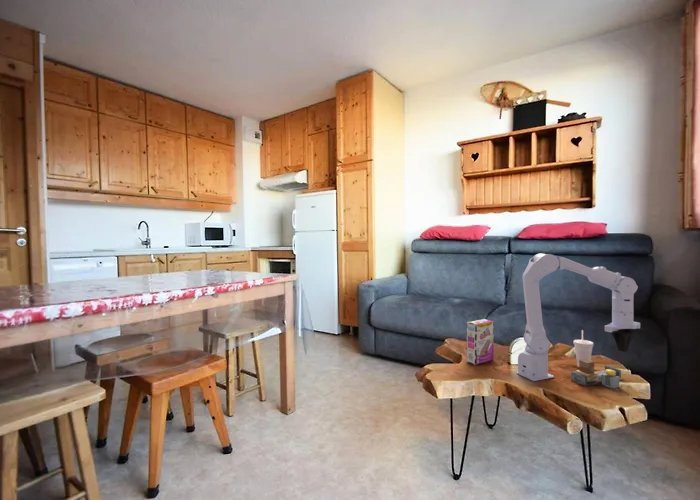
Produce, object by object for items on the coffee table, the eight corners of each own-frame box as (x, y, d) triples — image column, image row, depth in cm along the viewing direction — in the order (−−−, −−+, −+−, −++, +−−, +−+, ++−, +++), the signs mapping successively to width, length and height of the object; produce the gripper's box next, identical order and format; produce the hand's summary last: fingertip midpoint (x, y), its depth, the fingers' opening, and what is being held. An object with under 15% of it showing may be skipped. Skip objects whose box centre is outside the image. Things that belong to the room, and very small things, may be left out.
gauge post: (612, 388, 110) (612, 378, 110) (602, 384, 114) (601, 374, 114) (619, 387, 111) (619, 377, 111) (608, 383, 115) (608, 373, 114)
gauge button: (611, 386, 111) (611, 372, 111) (603, 383, 113) (603, 369, 113) (617, 385, 112) (617, 371, 111) (609, 382, 114) (609, 368, 114)
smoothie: (587, 364, 133) (587, 328, 132) (597, 370, 126) (597, 332, 126) (569, 363, 133) (569, 328, 133) (579, 369, 127) (579, 332, 126)
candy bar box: (476, 366, 133) (476, 324, 132) (466, 362, 137) (465, 322, 137) (494, 360, 138) (494, 320, 138) (484, 357, 143) (483, 318, 142)
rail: (585, 385, 113) (585, 377, 113) (571, 380, 118) (571, 371, 118) (621, 378, 118) (621, 370, 118) (606, 373, 123) (606, 365, 123)
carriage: (587, 382, 114) (587, 364, 114) (575, 377, 118) (575, 359, 118) (598, 380, 115) (598, 362, 115) (585, 375, 119) (585, 358, 119)
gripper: (620, 315, 110) (620, 357, 110) (650, 311, 114) (650, 351, 115) (598, 311, 116) (598, 350, 117) (627, 308, 121) (627, 345, 121)
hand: (622, 350), depth 116 cm, fingers closed
